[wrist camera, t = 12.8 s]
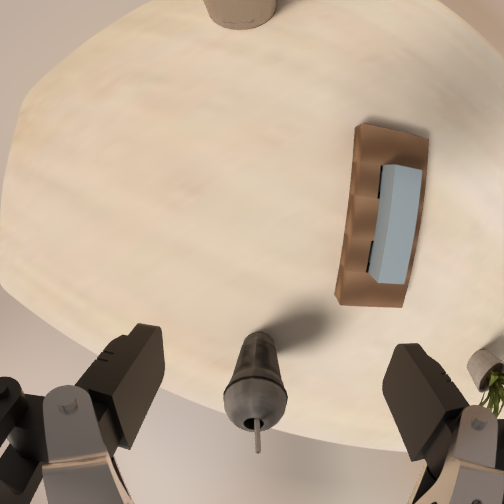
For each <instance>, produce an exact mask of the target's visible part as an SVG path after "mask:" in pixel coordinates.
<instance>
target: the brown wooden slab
mask: <svg viewBox="0 0 504 504" xmlns="http://www.w3.org/2000/svg"><path fill="white" fill-rule="evenodd" d="M428 146H429V139H426V138H423V137H419V136H415V135H412V134H408V133H404V132H400V131H396V130H392V129H387V128H383V127H378V126H374V125H369V124H364V123H363V124H361V125H359V126H357V127H355V134H354V149H353V162H352V173H351V183H350V193H349V202H348V210H347V218H346V226H345V233H344V240H343V247H342V253H341V260H340V266H339V272H338V277H337V283H336V289H335V296H336V298H337V300H338V302H339V304H340V305H346V306H368V307H396V308H402V306H403V303H404V299H405V295H406V291H407V287H408V283H409V279H410V275H411V270H412V266H413V261H414V256H415V251H416V246H417V241H418V235H419V229H420V223H421V216H422V210H423V202H424V194H425V185H426V175H427V162H428ZM383 165H400V166H405V167H409V168H414V169H419V170H422V179H421V189H420V198H419V206H418V214H417V221H416V227H415V233H414V239H413V245H412V250H411V255H410V260H409V265H408V270H407V274H406V279H405V283H404V284H389V283H378V282H377V281H376V280H375V279H374V278H373V277H372V276H371V275H370V274H369V273H368V271H369V266H370V265H367V263H368V258H369V252H370V246H371V241H374V237H375V230H376V223H377V216H378V208H379V200H380V198H377V197H378V188H379V179H380V168H381V167H383Z"/></svg>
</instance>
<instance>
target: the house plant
mask: <svg viewBox="0 0 504 504" xmlns="http://www.w3.org/2000/svg"><path fill="white" fill-rule="evenodd" d="M467 369H468V371H469V373H470V375H471V377H472V379H473V381H474V383H475V385H476V387H477V389H478V391H479V392H484V393H485V392H486V391H488V390H489V393H488V396H487V398H486V399H485V400H484V401H483V402H482V400H483V398H482V400H481V402H480V404H479V406H483V405H484V404H485V403H486V402H487V401H488V399H489V396H490V399H489V403H488V406H487V409H489V408H490V409H489V410H490V411H492V408H494V411H493V414H494V415H495V417H496V419H497V417H498V415H499V414H500V412H501V410H502V407H503V405H504V387H503V386H502V384H503V385H504V362H503V361H501V360H500V359H498V358H497V357H495V356H493V355H492V354H490V353H489V352H487V351H486V350H478V351H477V352H475V353H474V354H473V355H472V356H471V358H470V359H469V361H468V364H467ZM494 392H495V394H494ZM483 397H484V394H483ZM500 399H501V400H502V402H503V403H502V406H501V409H500V411H499V413H498V410H499V403H500ZM493 404H494V407H493Z"/></svg>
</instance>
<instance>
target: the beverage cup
mask: <svg viewBox="0 0 504 504" xmlns="http://www.w3.org/2000/svg"><path fill="white" fill-rule="evenodd" d="M287 399H288V396H287V392H286V390H285V388H284V385H283V382H282V380H281V375H280V369H279V364H278V359H277V353H276V349H275V346H274V341H273V339H272V338H271V337H270V336H269V335H267V334H264V333H258V332H257V333H252V334H250V335H248V336H247V337H246V338H245V340H244V343H243V345H242V347H241V350H240V354H239V357H238V360H237V363H236V366H235V370H234V373H233V376H232V378H231V380H230V382H229V384H228V386H227V387H226V389H225V391H224V407H225V411H226V413H227V415H228V417H229V419H230V420H231V421H232V422H233V423H234V424H235V425H236V426H237V427H239V428H241V429H243V430H246V431H249V432H255V453H257V454H259V453H261V442H260V431H264V430H267V429H270V428H271V427H273V426H274V425H275V424H277V423H278V422H279V420H280V419H281V418H282V416H283V414H284V412H285V408H286V404H287Z"/></svg>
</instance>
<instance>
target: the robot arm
mask: <svg viewBox="0 0 504 504" xmlns="http://www.w3.org/2000/svg"><path fill="white" fill-rule="evenodd" d="M203 1H204V3H205V5H206V8H207V10H208V13H209V15H210V17H211V18H212V19H213V21H214V22H216V23H217V24H218V25H221V26H223V27H225V28H229V29H237V30H242V29H250V28H254V27H257V26H259V25H261V24H263V23H265V22H266V21H268V20H269V19H270V18H271V17H272V15H273V14H274V12H275V9H276V0H203ZM164 371H165V361H164V350H163V339H162V330H161V328H160V327H159V326H152V325H147V324H141V323H138V324H137V325H136V326H135V327H134V329H133V330H132V331H131V332H130V334H129V335H128V336H127V335H121V336H119V337H118V338H116V339H114V340H112V341H111V342H110V343H109V344H108V345H107V346H106V348H105V349H104V350H103V352H101V354H100V355H99V356H98V357H97V360H95V361H94V362H93V363H92V364H91V366H90V367H89V368H88V369H87V370H86V372H85V373H84V374H83V375H82V377H81V378H80V379H79V380H78V382H77V383H76V384H75V385H74V386H72V385H65V386H60V387H57V388H55V389H53V390H51V391H50V392H49V393H48V394H47V395H46V396H45V397H44V396H36V395H30V394H24V393H23V391H22V389H21V386H20V384H19V383H18V381H16V380H15V379H13V378H11V377H0V447H1V445H2V444H3V442H4V441H5V439H6V438H7V439H8V440H9V442H10V444H9V446H8V447H7V449H6V450H5V452H4V453H3V455H2V456H1V458H0V504H30V502H31V500H32V498H33V496H34V494H35V492H36V490H37V488H38V486H39V484H40V482H41V480H42V478H43V480H44V486H45V490H46V495H47V500H48V504H134V502H133V500H132V498H131V495H130V493H129V491H128V488H127V486H126V484H125V482H124V479H123V477H122V474H121V472H120V469H119V467H118V464H117V462H116V459H115V457H114V453H115V451H116V449H117V447H118V446H119V447H122V448H125V449H128V450H130V449H131V447H132V445H133V442H134V440H135V438H136V436H137V433H138V431H139V429H140V427H141V425H142V423H143V421H144V418H145V416H146V414H147V412H148V410H149V408H150V406H151V403H152V401H153V399H154V397H155V395H156V393H157V391H158V389H159V387H160V384H161V382H162V380H163V377H164ZM382 390H383V395H384V397H385V399H386V402H387V404H388V406H389V408H390V411H391V413H392V415H393V418H394V420H395V422H396V425H397V427H398V430H399V432H400V434H401V437H402V439H403V442H404V444H405V447H406V449H407V451H408V454H409V457H410V459H411V461H417V460H421V459H425V460H426V462H427V463H426V464H425V465H424V466H423V468H422V470H421V473H420V475H419V478H418V480H417V482H416V485H415V487H414V490H413V492H412V494H411V496H410V499H409V501H408V503H407V504H504V419H496V417H495V415H494V414H493V413H492V412H491V411H490V410H489V409H487V408H485V407H483V406H479V405H471V406H470V405H469V404H468V402H467V401H466V399H465V398H464V396H463V395H462V394H461V392H460V391H459V389H458V388H457V387H456V385H455V384H454V383H453V382H451V379H450V377H449V376H448V374H446V372H445V370H444V369H443V368H442V366H441V365H440V364H439V363H438V362H436V361H435V360H434V359H432V358H431V357H430V356H428V355H427V354H426V352H425V351H424V350H423V348H422V347H421V346H420V345H419V344H418V343H410V344H398V345H397V346H396V347H395V349H394V352H393V355H392V358H391V361H390V363H389V366H388V369H387V371H386V374H385V376H384V379H383V385H382Z"/></svg>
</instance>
